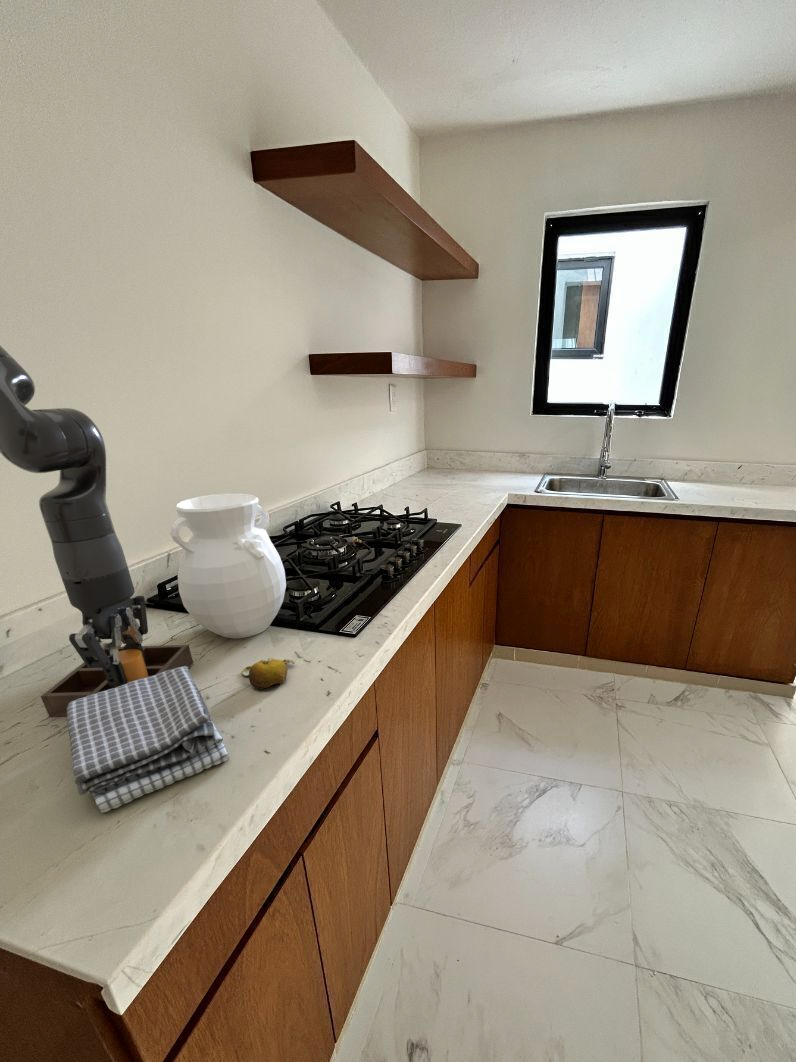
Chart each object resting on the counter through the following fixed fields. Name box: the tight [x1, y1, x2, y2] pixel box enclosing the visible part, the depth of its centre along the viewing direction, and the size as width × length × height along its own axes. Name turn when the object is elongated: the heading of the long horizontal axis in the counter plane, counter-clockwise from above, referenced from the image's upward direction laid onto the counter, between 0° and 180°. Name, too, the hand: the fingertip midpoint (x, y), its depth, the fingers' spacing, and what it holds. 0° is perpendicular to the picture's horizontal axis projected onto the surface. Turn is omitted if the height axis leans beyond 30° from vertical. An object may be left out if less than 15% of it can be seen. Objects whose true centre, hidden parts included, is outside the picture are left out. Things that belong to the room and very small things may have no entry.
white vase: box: [170, 492, 287, 640], centre depth 93 cm, size 19×18×25 cm
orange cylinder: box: [115, 649, 148, 688], centre depth 74 cm, size 5×5×4 cm
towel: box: [66, 666, 230, 814], centre depth 63 cm, size 15×18×8 cm
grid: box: [40, 644, 194, 718], centre depth 78 cm, size 14×14×4 cm
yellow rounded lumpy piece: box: [241, 658, 295, 691], centre depth 80 cm, size 8×8×4 cm
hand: (128, 675), depth 74 cm, fingers closed on orange cylinder, 4 cm apart
